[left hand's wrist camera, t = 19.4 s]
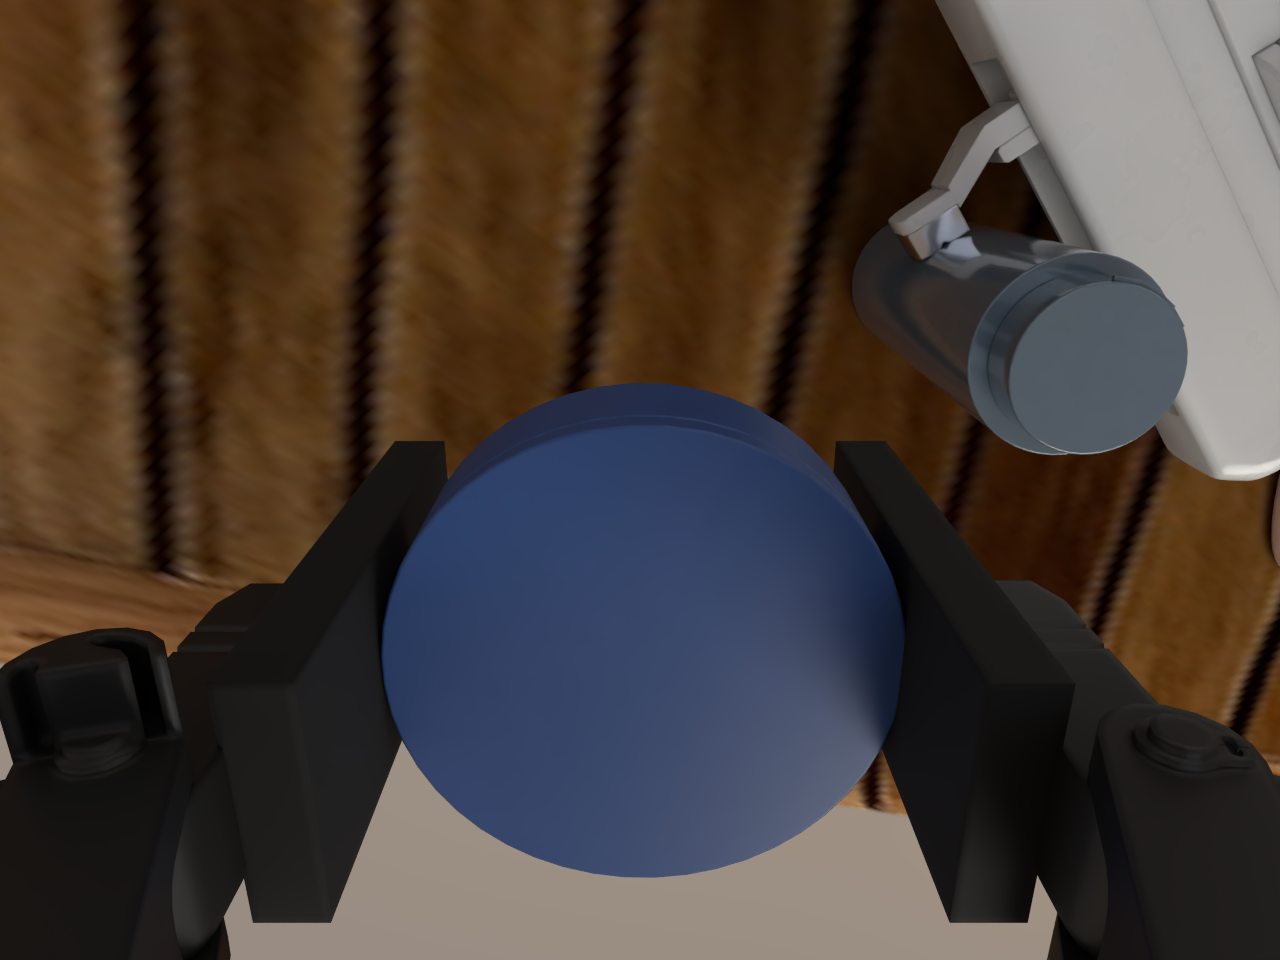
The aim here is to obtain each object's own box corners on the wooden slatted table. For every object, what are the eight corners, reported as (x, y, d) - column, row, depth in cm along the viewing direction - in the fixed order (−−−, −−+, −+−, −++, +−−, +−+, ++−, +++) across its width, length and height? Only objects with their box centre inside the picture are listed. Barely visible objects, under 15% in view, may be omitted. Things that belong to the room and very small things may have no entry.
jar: (962, 357, 38) (1162, 489, 23) (837, 335, 37) (961, 455, 23) (1002, 225, 36) (1245, 280, 21) (870, 202, 36) (1027, 241, 21)
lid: (767, 297, 11) (790, 328, 9) (932, 694, 13) (976, 777, 11) (327, 502, 12) (276, 562, 10) (546, 841, 13) (533, 938, 12)
